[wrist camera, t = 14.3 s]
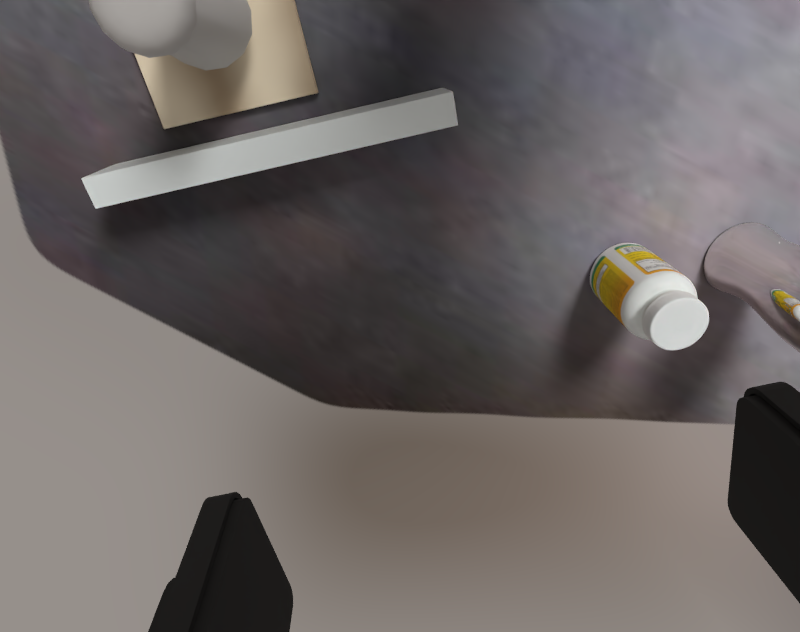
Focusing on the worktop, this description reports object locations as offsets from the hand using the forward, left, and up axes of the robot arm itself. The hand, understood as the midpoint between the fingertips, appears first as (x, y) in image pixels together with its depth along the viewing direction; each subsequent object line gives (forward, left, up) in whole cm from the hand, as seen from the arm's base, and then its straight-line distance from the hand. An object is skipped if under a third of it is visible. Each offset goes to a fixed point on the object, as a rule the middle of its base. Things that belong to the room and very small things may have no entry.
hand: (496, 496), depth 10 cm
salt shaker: (+10, -12, -32) cm, 36 cm away
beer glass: (-26, +13, -32) cm, 44 cm away
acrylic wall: (+8, -4, -32) cm, 34 cm away
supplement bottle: (-16, +12, -32) cm, 38 cm away
